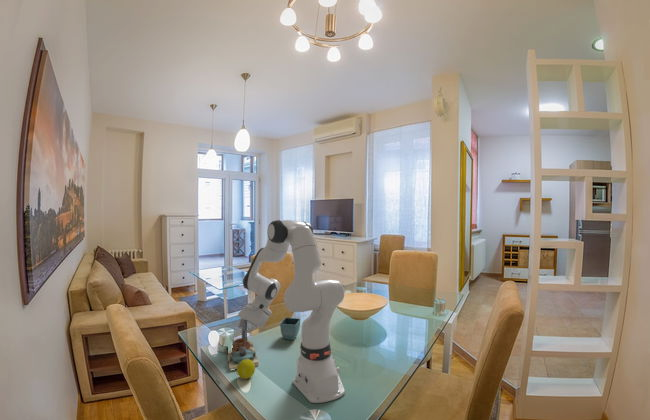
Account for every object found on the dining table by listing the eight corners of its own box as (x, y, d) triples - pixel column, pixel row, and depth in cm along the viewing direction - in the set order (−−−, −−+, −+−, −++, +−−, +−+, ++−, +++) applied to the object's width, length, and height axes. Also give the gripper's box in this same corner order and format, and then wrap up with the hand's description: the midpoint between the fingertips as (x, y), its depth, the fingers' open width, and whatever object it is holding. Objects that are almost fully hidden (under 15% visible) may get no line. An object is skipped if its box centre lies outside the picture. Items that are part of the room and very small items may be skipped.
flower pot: (296, 342, 149) (295, 325, 149) (279, 341, 151) (279, 323, 151) (300, 335, 158) (300, 318, 158) (285, 333, 160) (285, 317, 159)
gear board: (258, 365, 127) (258, 351, 127) (229, 371, 123) (229, 357, 123) (251, 343, 148) (251, 331, 148) (226, 348, 143) (226, 335, 143)
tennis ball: (243, 384, 114) (243, 366, 114) (233, 377, 119) (233, 360, 118) (258, 377, 119) (258, 360, 119) (248, 370, 124) (248, 354, 124)
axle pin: (247, 341, 151) (247, 322, 151) (241, 342, 150) (241, 322, 150) (246, 339, 153) (246, 320, 153) (241, 339, 152) (241, 320, 152)
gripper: (245, 299, 163) (229, 321, 156) (266, 307, 149) (250, 332, 142) (252, 305, 167) (236, 327, 160) (273, 314, 153) (258, 338, 146)
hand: (243, 330), depth 151 cm, fingers open, 8 cm apart
